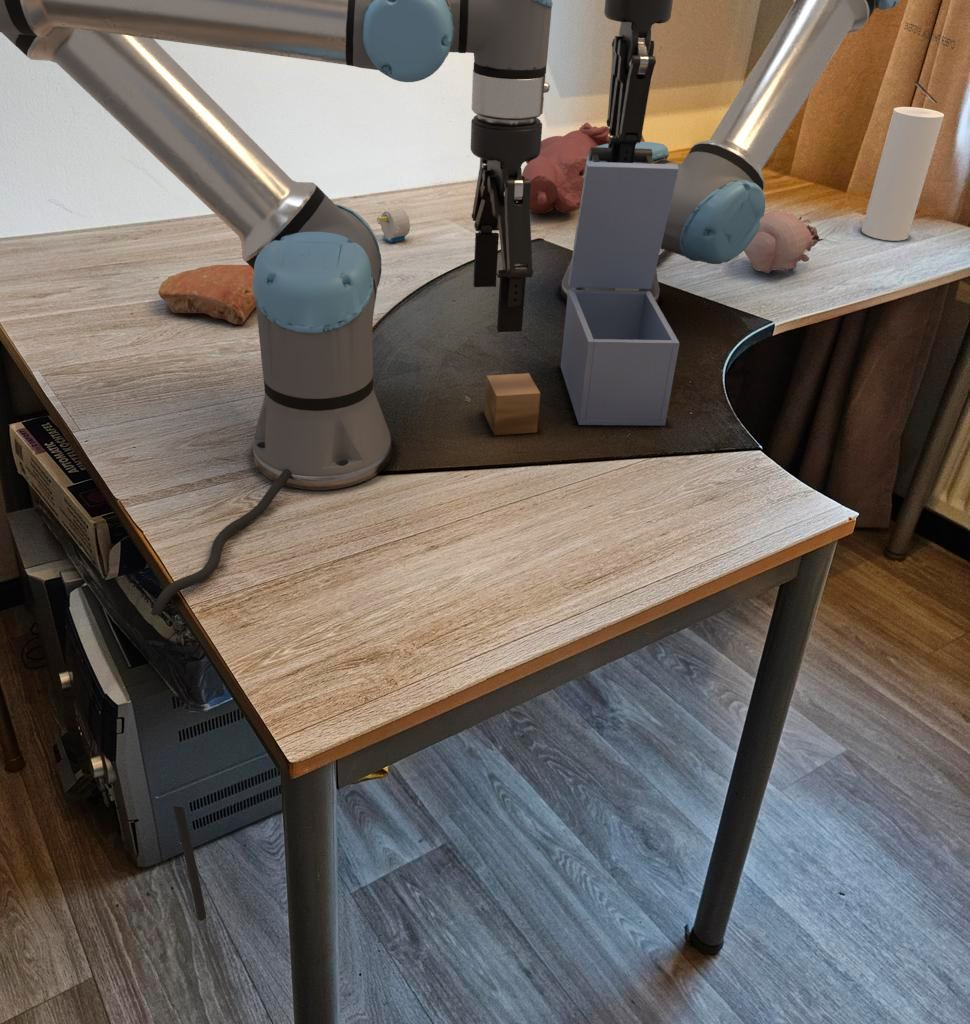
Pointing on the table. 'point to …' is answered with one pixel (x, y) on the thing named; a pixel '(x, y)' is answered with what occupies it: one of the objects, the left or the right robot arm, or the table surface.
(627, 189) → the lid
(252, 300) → the ceramic shard
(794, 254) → the toy
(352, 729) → the table surface
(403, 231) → the electric motor
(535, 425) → the block
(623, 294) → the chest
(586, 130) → the fabric sculpture
